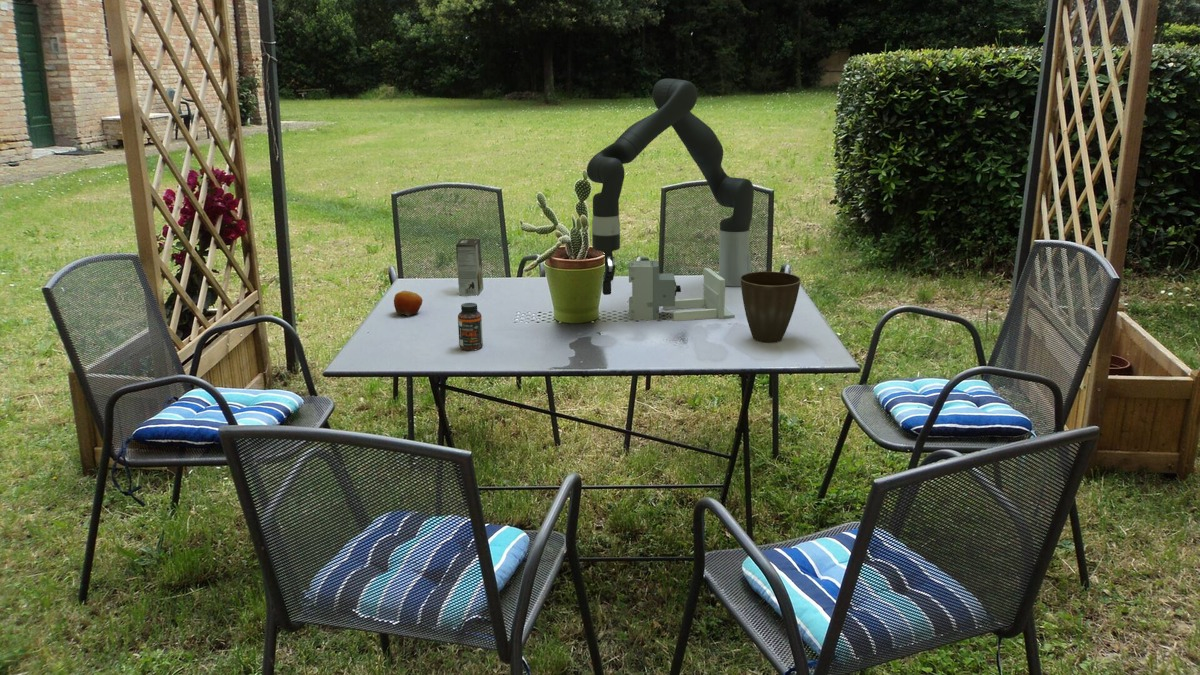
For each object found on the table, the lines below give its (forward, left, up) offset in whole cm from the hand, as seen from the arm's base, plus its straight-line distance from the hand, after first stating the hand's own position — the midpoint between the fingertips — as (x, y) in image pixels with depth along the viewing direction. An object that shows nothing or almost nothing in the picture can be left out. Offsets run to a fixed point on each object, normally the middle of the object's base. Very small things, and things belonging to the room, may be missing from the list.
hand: (606, 294), depth 255 cm
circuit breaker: (-14, 0, -8) cm, 16 cm away
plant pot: (-37, +28, -7) cm, 47 cm away
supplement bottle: (+38, +17, -7) cm, 43 cm away
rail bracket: (-26, 0, -7) cm, 27 cm away
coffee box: (+35, -40, -8) cm, 54 cm away
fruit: (+54, -19, -8) cm, 58 cm away
